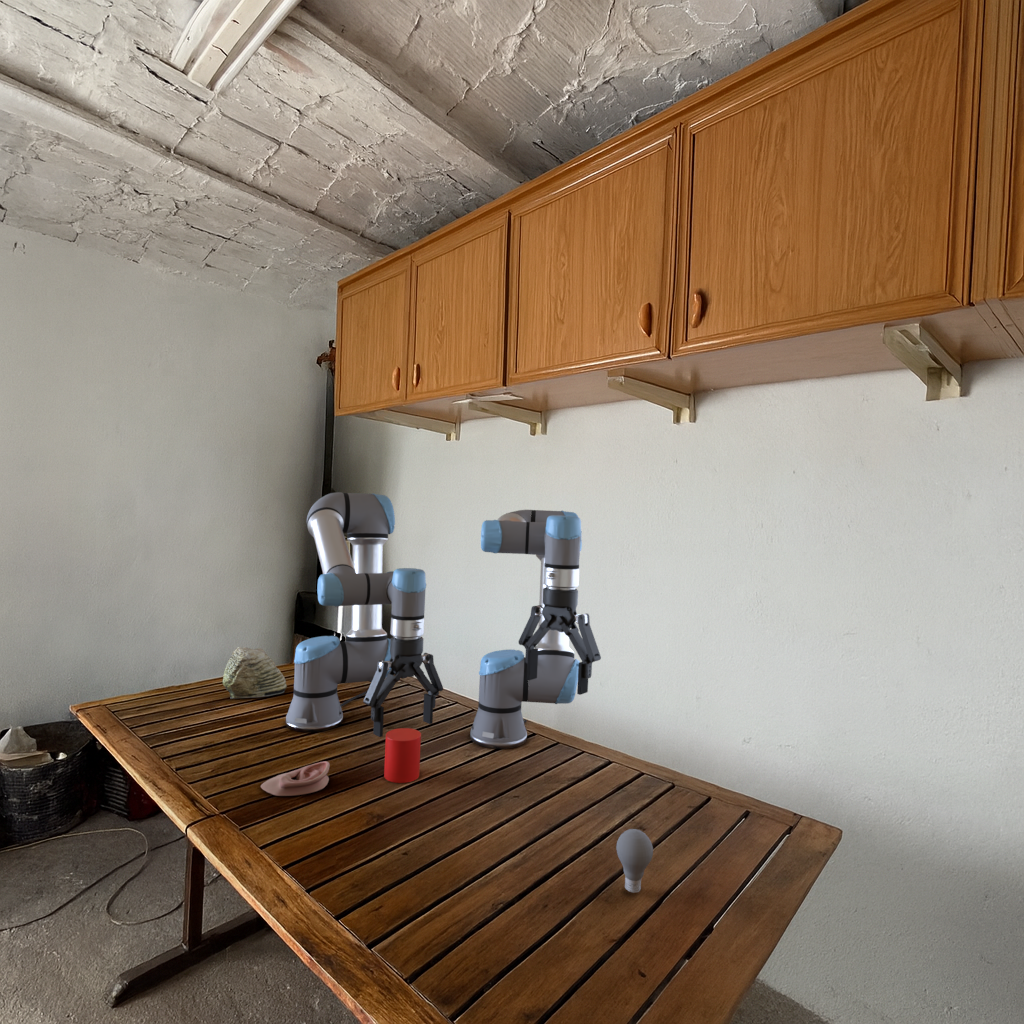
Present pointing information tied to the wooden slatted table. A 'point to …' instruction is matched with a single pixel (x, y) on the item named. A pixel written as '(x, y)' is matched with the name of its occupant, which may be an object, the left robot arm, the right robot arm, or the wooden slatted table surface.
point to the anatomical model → (299, 780)
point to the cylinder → (402, 755)
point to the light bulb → (634, 857)
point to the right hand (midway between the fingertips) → (556, 685)
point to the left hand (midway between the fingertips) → (403, 728)
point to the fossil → (252, 674)
